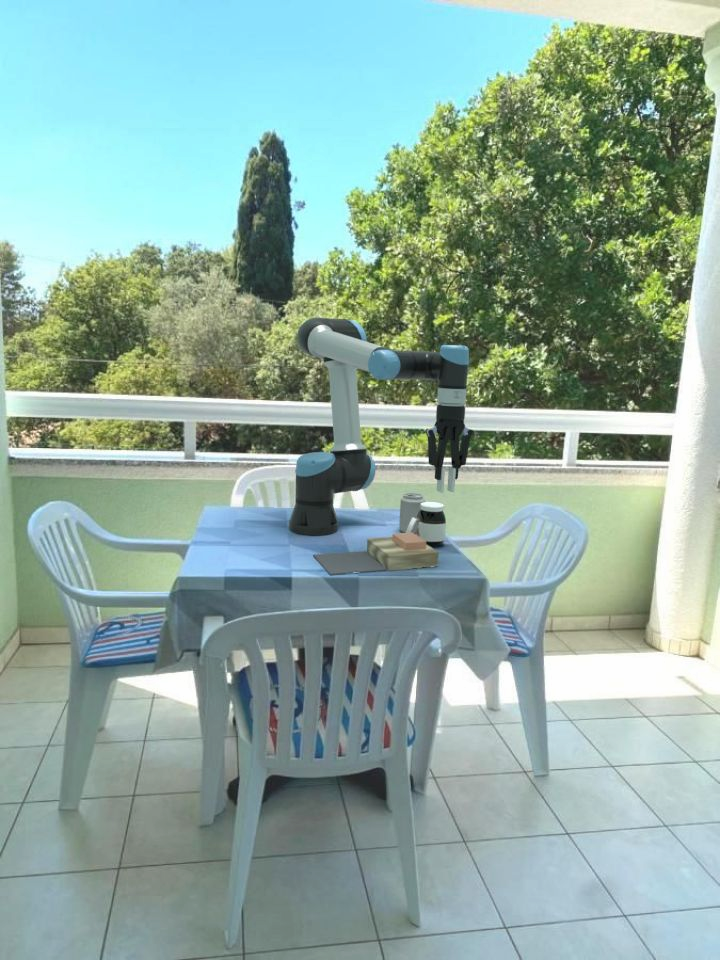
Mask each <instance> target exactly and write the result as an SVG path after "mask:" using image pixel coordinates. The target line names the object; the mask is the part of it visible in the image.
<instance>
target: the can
mask: <svg viewBox="0 0 720 960" xmlns="http://www.w3.org/2000/svg"><path fill="white" fill-rule="evenodd" d="M423 502H426V500H425V498H424V494H421V493H419V492H405V493H403V495H402V497H401V498H400V507H399V523H398V525H399V526H398V529H399V530H400V531H401V533H406V530H407V528H408V526H409V523H410V521H411V519H412V518H415V519H417V514H418V512H419V511H420V510H421V509H420V506H421V503H423ZM416 523H417V521H416ZM412 532H413V533H414V534H416V524H415V526H414V528H413V531H412Z"/></svg>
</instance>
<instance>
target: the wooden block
mask: <svg viewBox="0 0 720 960" xmlns="http://www.w3.org/2000/svg"><path fill="white" fill-rule="evenodd" d="M366 541H367V542H366V552H367V553H368V554H369V555H370V556H371V557H373V558H374V559H375V560H376V561H377V562H378V563H380V564H381V565H382V566H384V567H385V569H387V570H386V571H388V572H390V571H389V570H392V571H402V570H403V571H404V570H413V569H412V568H417V569H423V568H422V567H429V568H432V567H431V566H439V565H438V564H439V551H438V550H436V549H434V548H433V547H432V546H428V545H427V544H426V549H417V550H404V549H403V548H401V547H400V546H399V545H397V544H396V543H395V542H393V541H392V536H385V537H369V538H368V537H367V539H366Z"/></svg>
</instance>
